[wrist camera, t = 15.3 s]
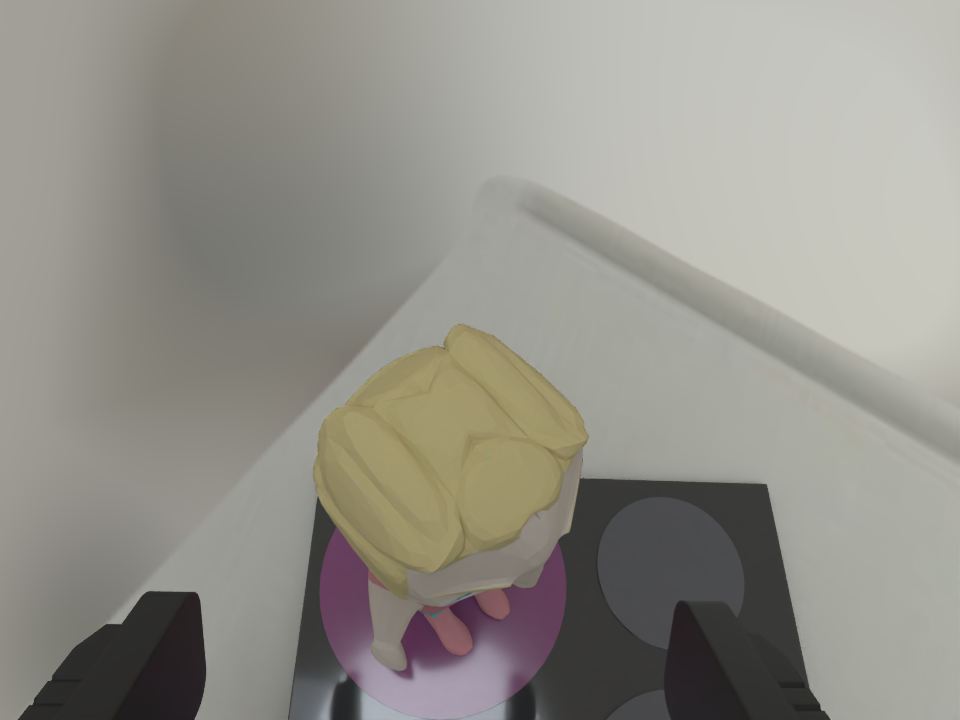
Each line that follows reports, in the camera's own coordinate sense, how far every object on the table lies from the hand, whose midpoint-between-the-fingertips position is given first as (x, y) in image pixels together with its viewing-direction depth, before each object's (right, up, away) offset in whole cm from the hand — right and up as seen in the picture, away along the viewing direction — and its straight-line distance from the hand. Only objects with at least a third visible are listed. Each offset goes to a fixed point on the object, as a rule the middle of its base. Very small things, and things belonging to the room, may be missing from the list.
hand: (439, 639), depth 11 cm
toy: (-1, -4, +13) cm, 13 cm away
